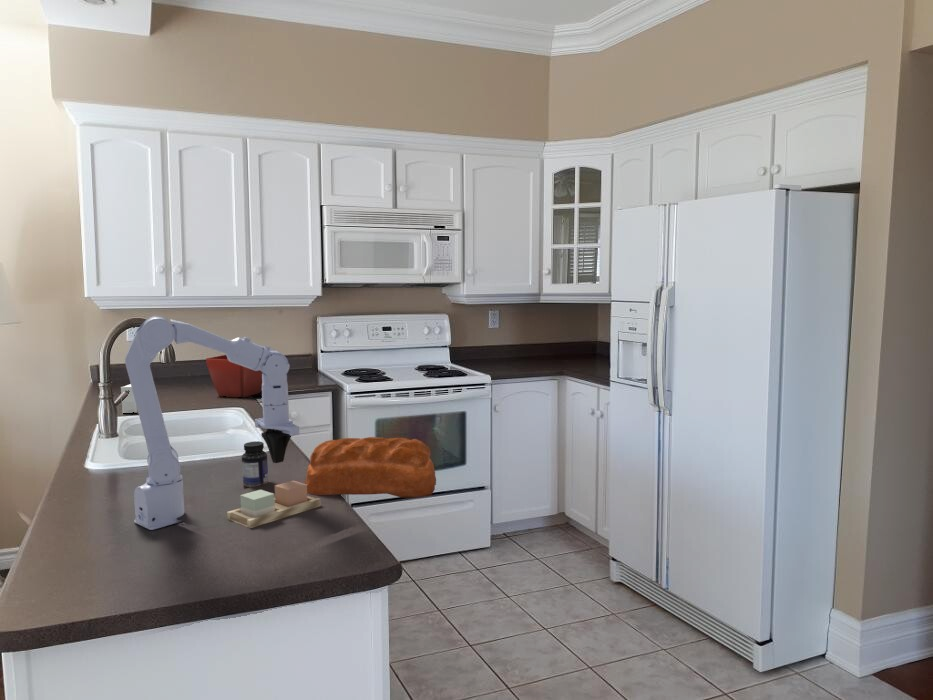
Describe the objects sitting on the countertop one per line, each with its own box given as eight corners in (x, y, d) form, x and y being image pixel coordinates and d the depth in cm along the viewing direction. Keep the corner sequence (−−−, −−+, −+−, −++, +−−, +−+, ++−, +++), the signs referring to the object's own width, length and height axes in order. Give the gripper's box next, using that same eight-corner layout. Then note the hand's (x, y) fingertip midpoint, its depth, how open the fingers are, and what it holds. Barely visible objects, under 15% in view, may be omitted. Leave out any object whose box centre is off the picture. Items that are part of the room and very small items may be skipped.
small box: (136, 414, 275) (135, 386, 274) (122, 414, 275) (120, 386, 274) (146, 410, 283) (144, 383, 282) (132, 410, 283) (130, 383, 282)
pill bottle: (260, 481, 186) (258, 439, 184) (273, 486, 182) (271, 443, 180) (238, 487, 181) (236, 443, 180) (251, 492, 177) (249, 448, 176)
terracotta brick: (288, 512, 158) (288, 489, 158) (275, 507, 162) (274, 485, 161) (307, 506, 162) (306, 484, 162) (294, 501, 165) (293, 480, 165)
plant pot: (243, 400, 302) (241, 359, 300) (206, 397, 309) (204, 358, 307) (271, 392, 320) (269, 354, 318) (235, 390, 326) (234, 353, 324)
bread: (433, 499, 170) (432, 445, 169) (300, 501, 171) (297, 446, 169) (437, 480, 186) (436, 429, 184) (314, 481, 186) (312, 431, 185)
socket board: (250, 533, 149) (250, 521, 149) (227, 523, 155) (226, 511, 155) (321, 510, 163) (321, 499, 162) (297, 502, 169) (296, 491, 168)
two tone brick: (275, 516, 156) (274, 493, 155) (254, 523, 152) (253, 499, 151) (261, 511, 159) (260, 489, 158) (241, 517, 155) (240, 495, 155)
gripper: (309, 404, 163) (311, 463, 165) (272, 397, 173) (274, 453, 174) (283, 409, 158) (285, 470, 160) (245, 402, 168) (248, 459, 169)
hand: (278, 461), depth 167 cm, fingers closed
